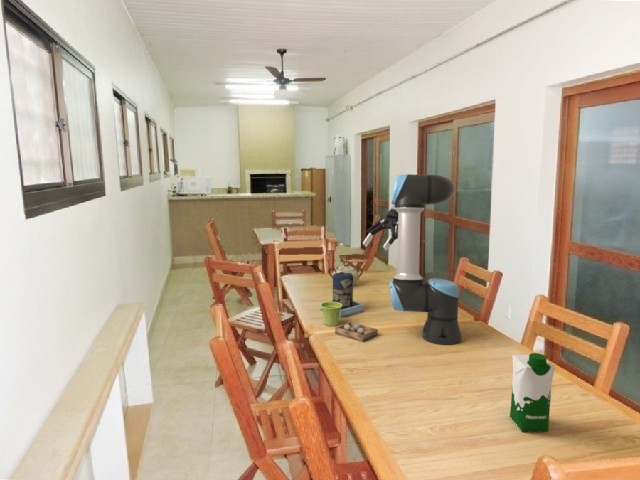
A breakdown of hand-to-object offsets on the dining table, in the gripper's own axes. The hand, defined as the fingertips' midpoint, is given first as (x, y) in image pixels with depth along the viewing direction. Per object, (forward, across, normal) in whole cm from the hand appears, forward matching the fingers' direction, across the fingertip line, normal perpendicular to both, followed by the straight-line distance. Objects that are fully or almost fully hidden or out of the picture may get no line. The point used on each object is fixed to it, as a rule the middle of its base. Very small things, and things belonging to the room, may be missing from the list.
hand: (374, 246), depth 219 cm
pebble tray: (+43, -22, +1) cm, 49 cm away
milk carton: (+50, -99, +8) cm, 111 cm away
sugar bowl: (+10, +38, -32) cm, 51 cm away
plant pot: (+44, -6, +1) cm, 44 cm away
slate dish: (+32, +5, -10) cm, 34 cm away
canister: (+32, +4, -9) cm, 33 cm away
